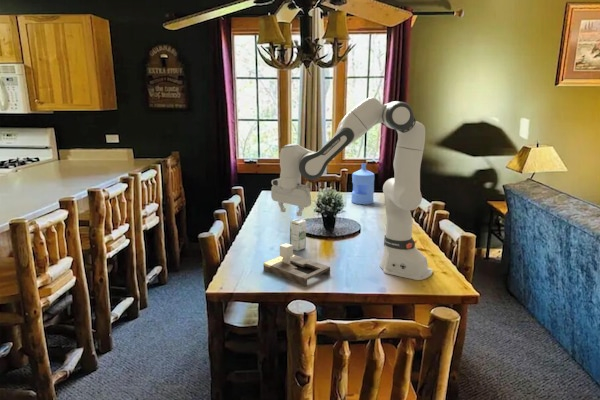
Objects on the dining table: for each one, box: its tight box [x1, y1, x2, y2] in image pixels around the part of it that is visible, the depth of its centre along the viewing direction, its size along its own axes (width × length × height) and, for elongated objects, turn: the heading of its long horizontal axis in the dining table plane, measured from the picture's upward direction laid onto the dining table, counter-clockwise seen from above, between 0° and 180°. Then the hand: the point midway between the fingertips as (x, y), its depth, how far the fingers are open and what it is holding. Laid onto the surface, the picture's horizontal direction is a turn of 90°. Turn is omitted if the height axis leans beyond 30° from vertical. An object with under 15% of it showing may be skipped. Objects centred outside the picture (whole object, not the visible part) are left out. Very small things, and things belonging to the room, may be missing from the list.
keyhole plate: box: [262, 254, 331, 287], centre depth 179 cm, size 24×16×3 cm, turn 48°
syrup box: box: [289, 218, 307, 252], centre depth 206 cm, size 6×6×14 cm
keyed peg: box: [279, 242, 295, 266], centre depth 182 cm, size 5×5×11 cm
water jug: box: [350, 162, 375, 206], centre depth 296 cm, size 16×16×28 cm
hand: (291, 213), depth 180 cm, fingers open, 8 cm apart
